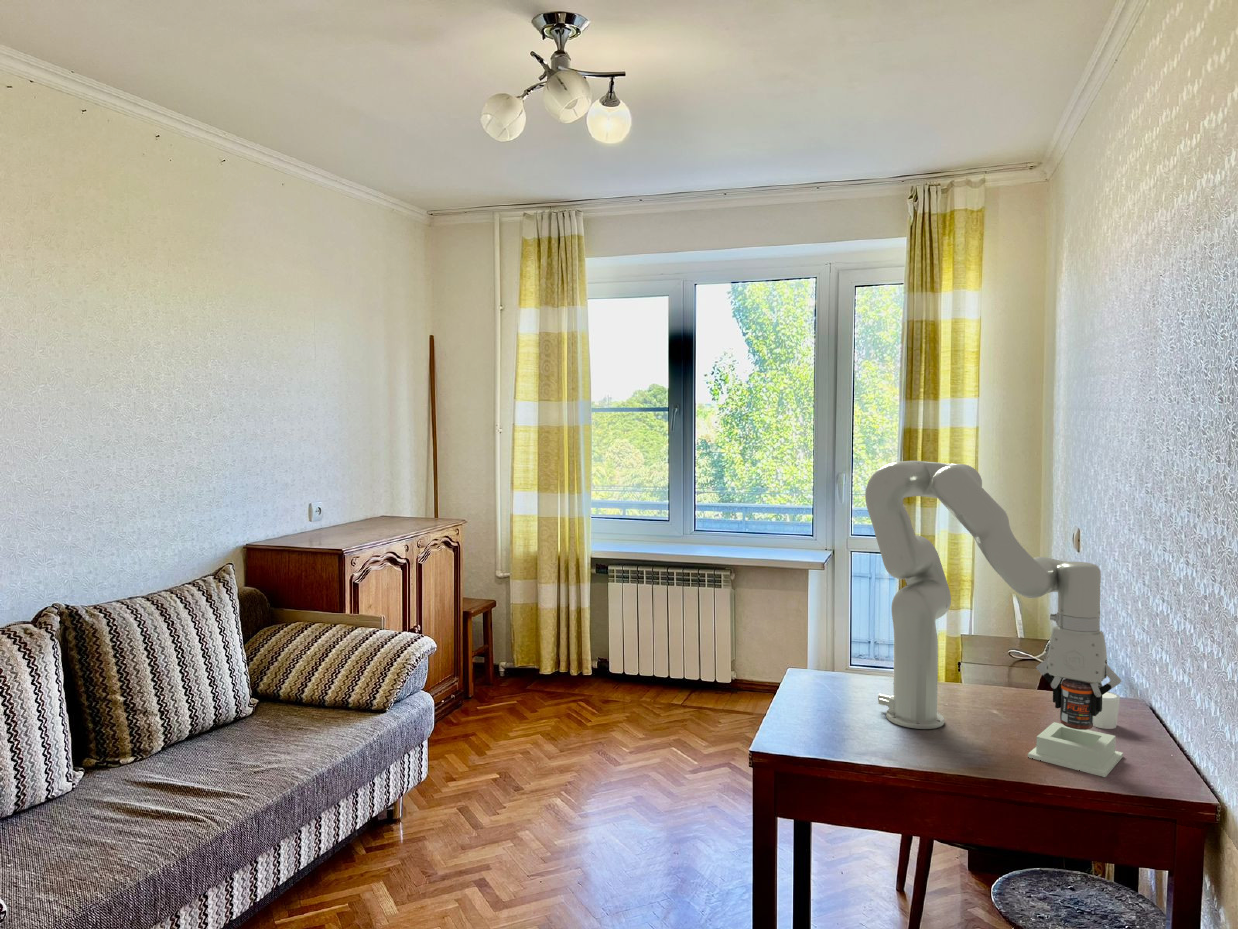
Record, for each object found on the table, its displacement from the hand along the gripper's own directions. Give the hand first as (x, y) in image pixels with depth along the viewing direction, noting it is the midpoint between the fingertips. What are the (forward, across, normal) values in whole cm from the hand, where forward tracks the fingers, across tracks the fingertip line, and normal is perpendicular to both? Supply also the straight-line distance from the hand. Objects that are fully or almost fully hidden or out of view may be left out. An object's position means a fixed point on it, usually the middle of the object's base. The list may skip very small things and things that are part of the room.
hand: (1077, 709), depth 167 cm
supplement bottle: (+4, 0, 0) cm, 4 cm away
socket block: (+10, 0, 0) cm, 10 cm away
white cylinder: (+10, -1, +25) cm, 27 cm away
